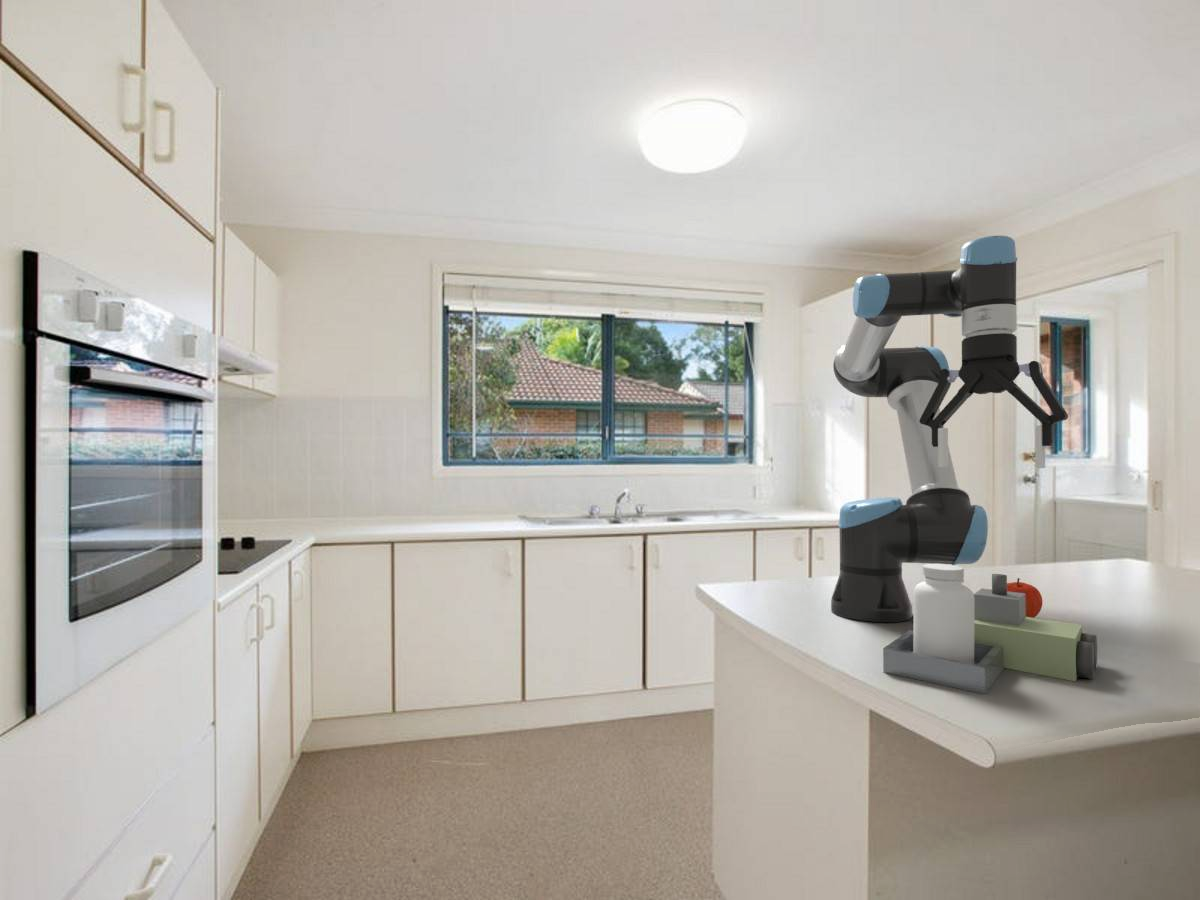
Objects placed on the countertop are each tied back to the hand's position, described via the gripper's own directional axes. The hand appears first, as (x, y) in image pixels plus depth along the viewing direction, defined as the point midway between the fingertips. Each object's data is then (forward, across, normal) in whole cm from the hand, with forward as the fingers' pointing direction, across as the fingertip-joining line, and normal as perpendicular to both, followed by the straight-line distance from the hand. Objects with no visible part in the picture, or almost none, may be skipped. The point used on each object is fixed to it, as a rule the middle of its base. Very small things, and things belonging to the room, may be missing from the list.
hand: (989, 467), depth 100 cm
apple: (+31, -2, +29) cm, 42 cm away
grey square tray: (+30, -3, -14) cm, 33 cm away
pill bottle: (+30, -3, -14) cm, 33 cm away
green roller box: (+30, +2, -1) cm, 30 cm away
